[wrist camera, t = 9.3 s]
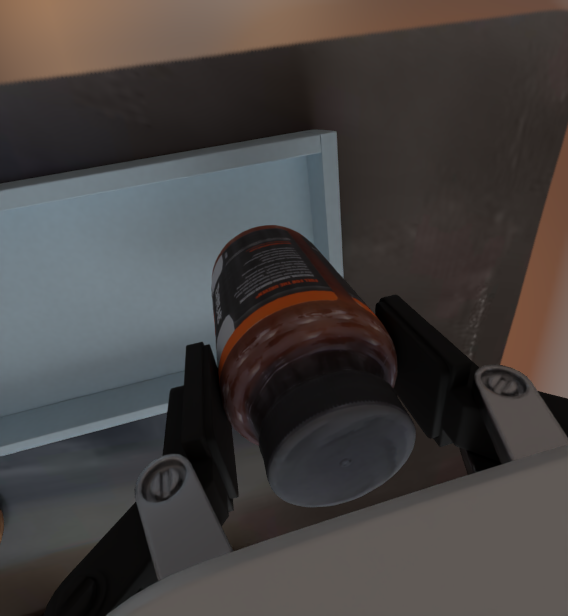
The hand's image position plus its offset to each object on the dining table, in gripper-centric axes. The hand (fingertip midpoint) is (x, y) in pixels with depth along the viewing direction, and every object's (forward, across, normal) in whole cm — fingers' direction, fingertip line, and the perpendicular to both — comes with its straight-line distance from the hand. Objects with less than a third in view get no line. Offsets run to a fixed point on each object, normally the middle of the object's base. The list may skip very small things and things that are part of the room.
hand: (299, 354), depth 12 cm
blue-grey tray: (+16, +11, +3) cm, 19 cm away
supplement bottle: (+7, 0, 0) cm, 7 cm away
